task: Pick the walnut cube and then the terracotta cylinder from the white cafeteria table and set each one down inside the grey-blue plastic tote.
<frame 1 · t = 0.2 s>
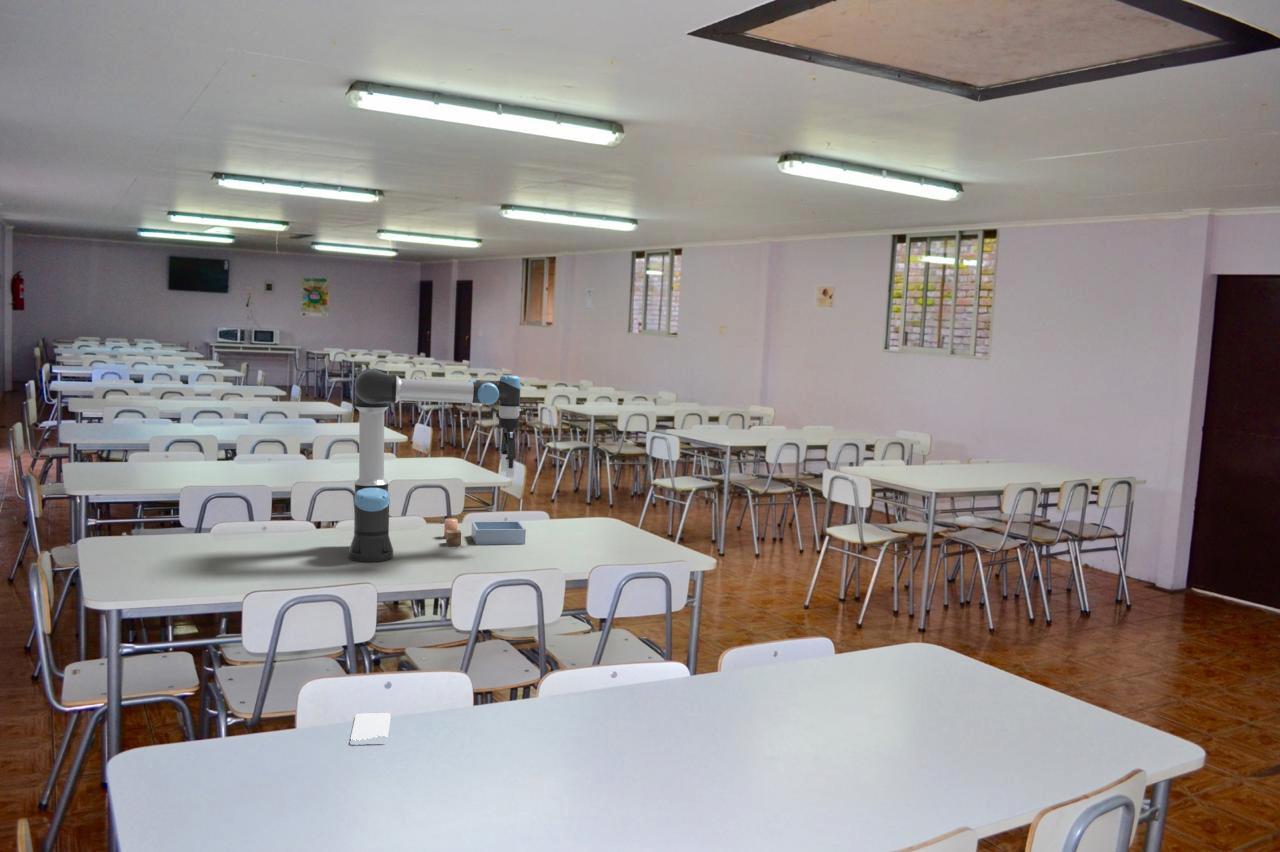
hand: (507, 474, 369), 27 cm above the table, fingers open, 13 cm apart
cube: (453, 544, 371), on the table
cylinder: (450, 537, 382), on the table
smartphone: (370, 732, 202), on the table
tote: (497, 539, 382), on the table
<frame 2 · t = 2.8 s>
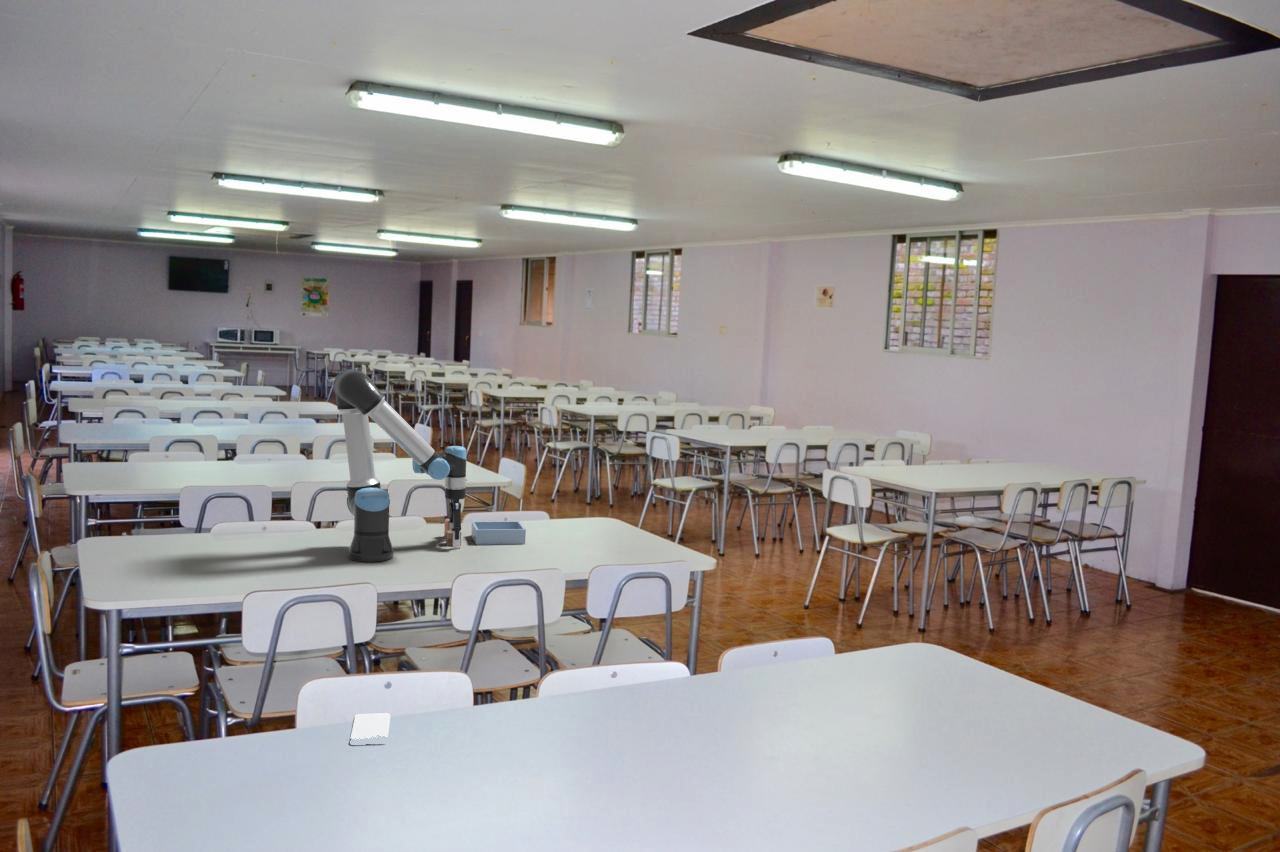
hand: (454, 543, 371), 0 cm above the table, fingers open, 13 cm apart
cylinder: (450, 537, 382), on the table, touching gripper
everything else where it was.
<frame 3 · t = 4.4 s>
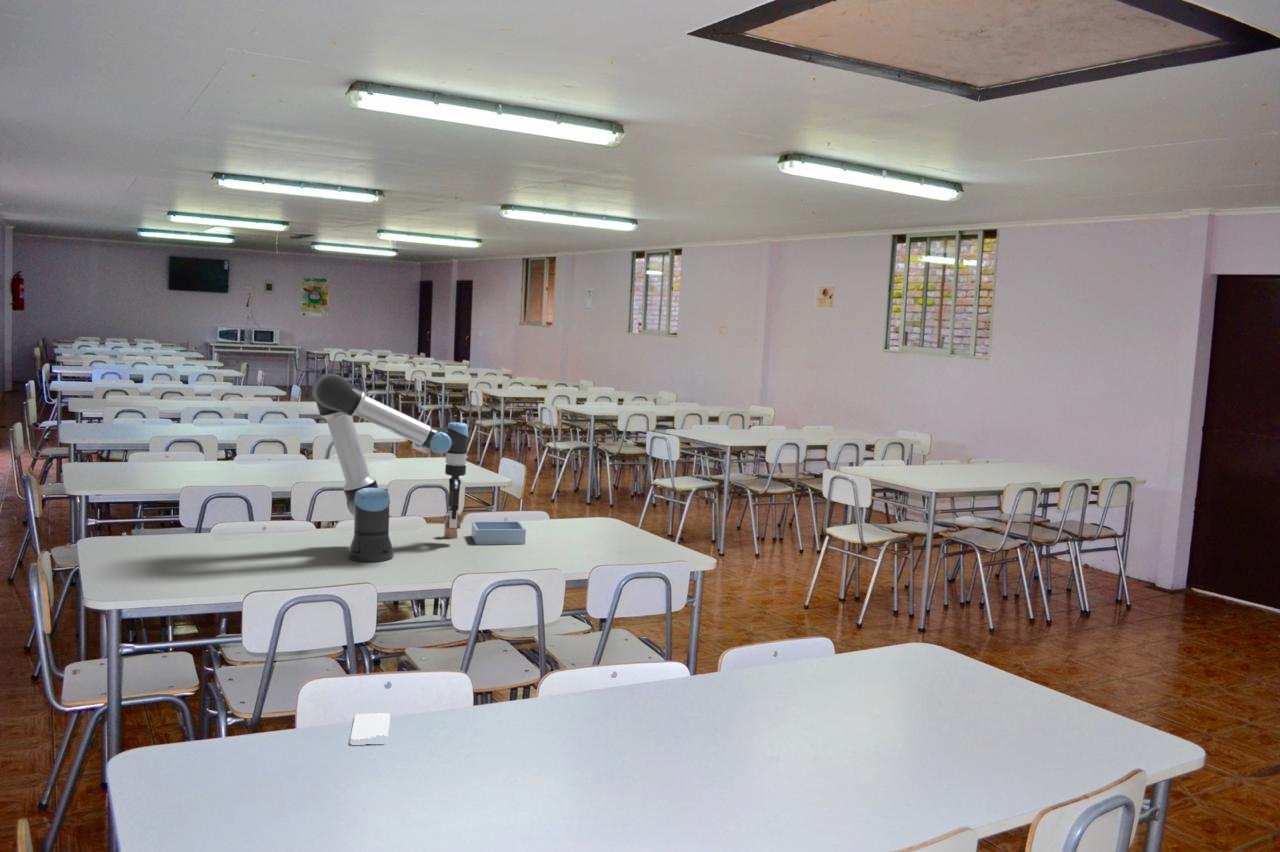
hand: (452, 525, 370), 7 cm above the table, fingers closed on cube, 5 cm apart
cube: (452, 527, 370), point 7 cm above the table, touching gripper
cylinder: (450, 537, 382), on the table
everything else where it was.
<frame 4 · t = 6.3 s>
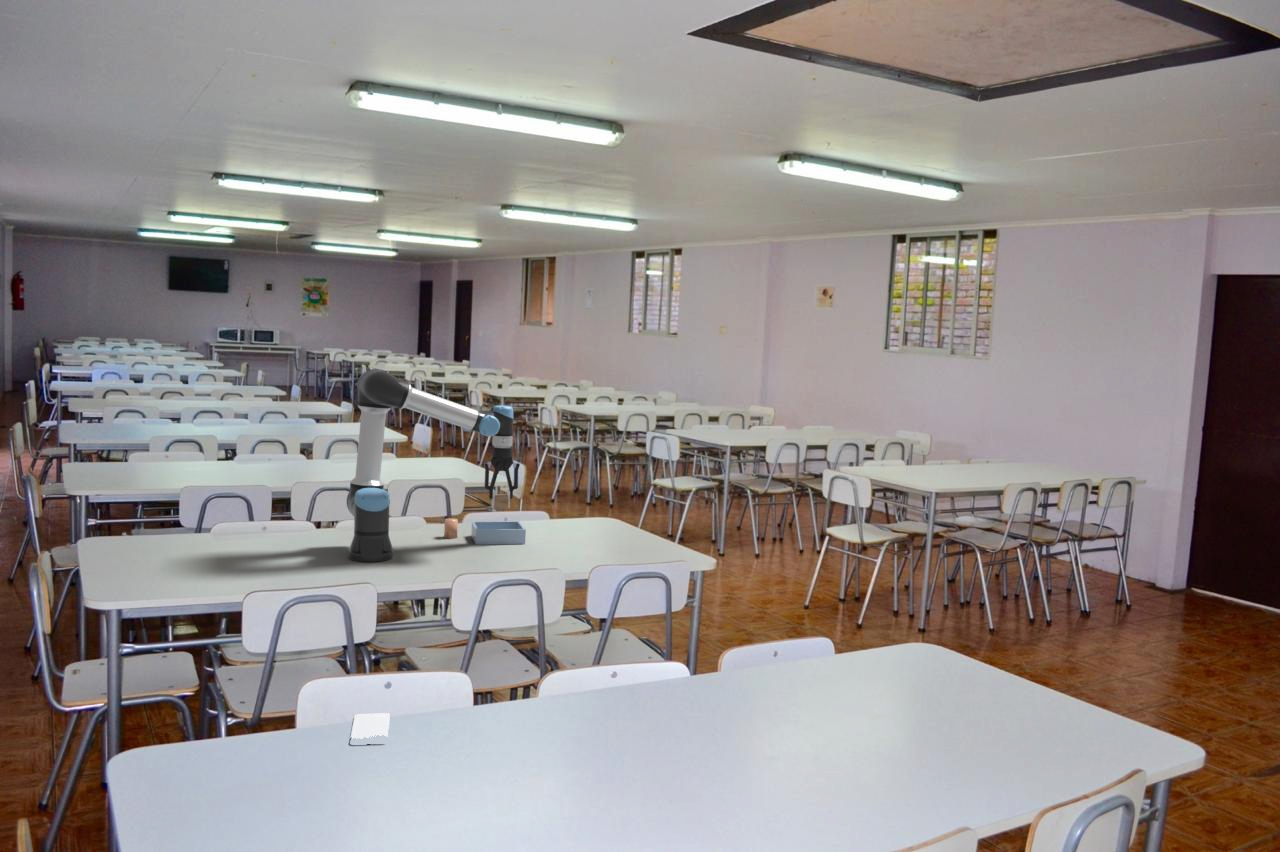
hand: (500, 507, 377), 13 cm above the table, fingers closed on cube, 5 cm apart
cube: (500, 508, 377), point 13 cm above the table, touching gripper
everything else where it was.
when the fingers open (2 cm above the table, at t = 8.5 s): cube stays where it is, resting on tote.
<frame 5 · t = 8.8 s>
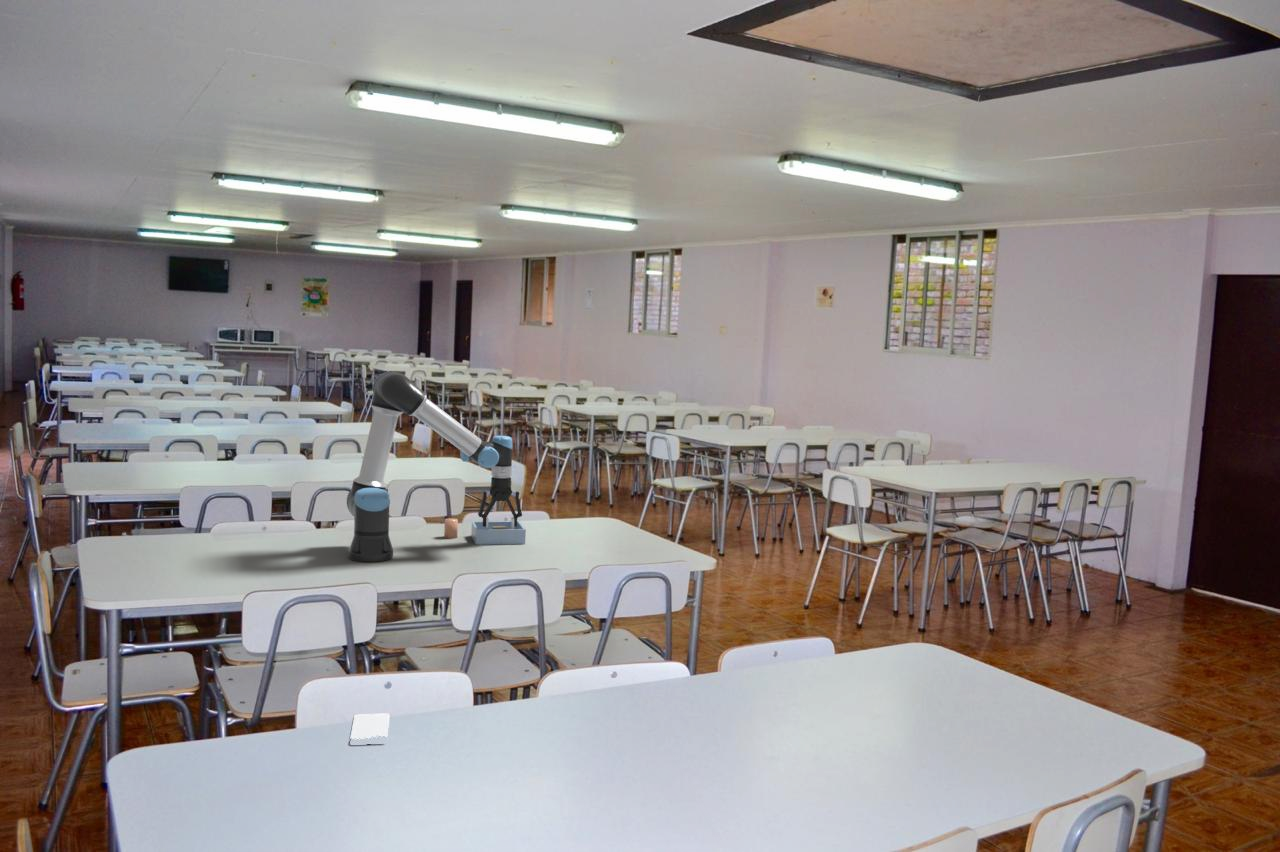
hand: (499, 534, 378), 3 cm above the table, fingers open, 9 cm apart
cube: (499, 540, 378), point 1 cm above the table, touching tote
everything else where it was.
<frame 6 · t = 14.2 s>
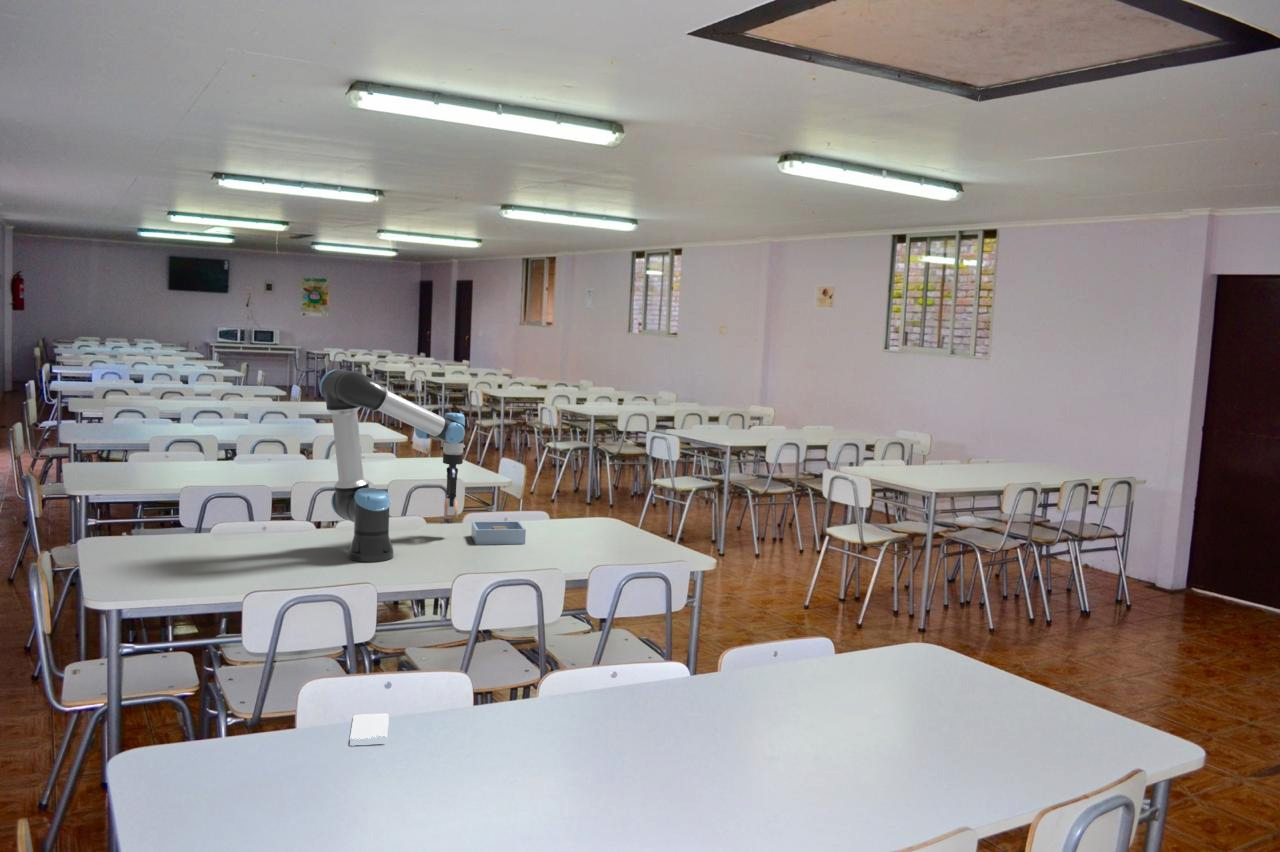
hand: (450, 513, 381), 9 cm above the table, fingers closed on cylinder, 5 cm apart
cylinder: (450, 517, 381), point 8 cm above the table, touching gripper
everything else where it was.
when the fingers open (2 cm above the table, at t = 18.2 s): cylinder stays where it is, resting on tote.
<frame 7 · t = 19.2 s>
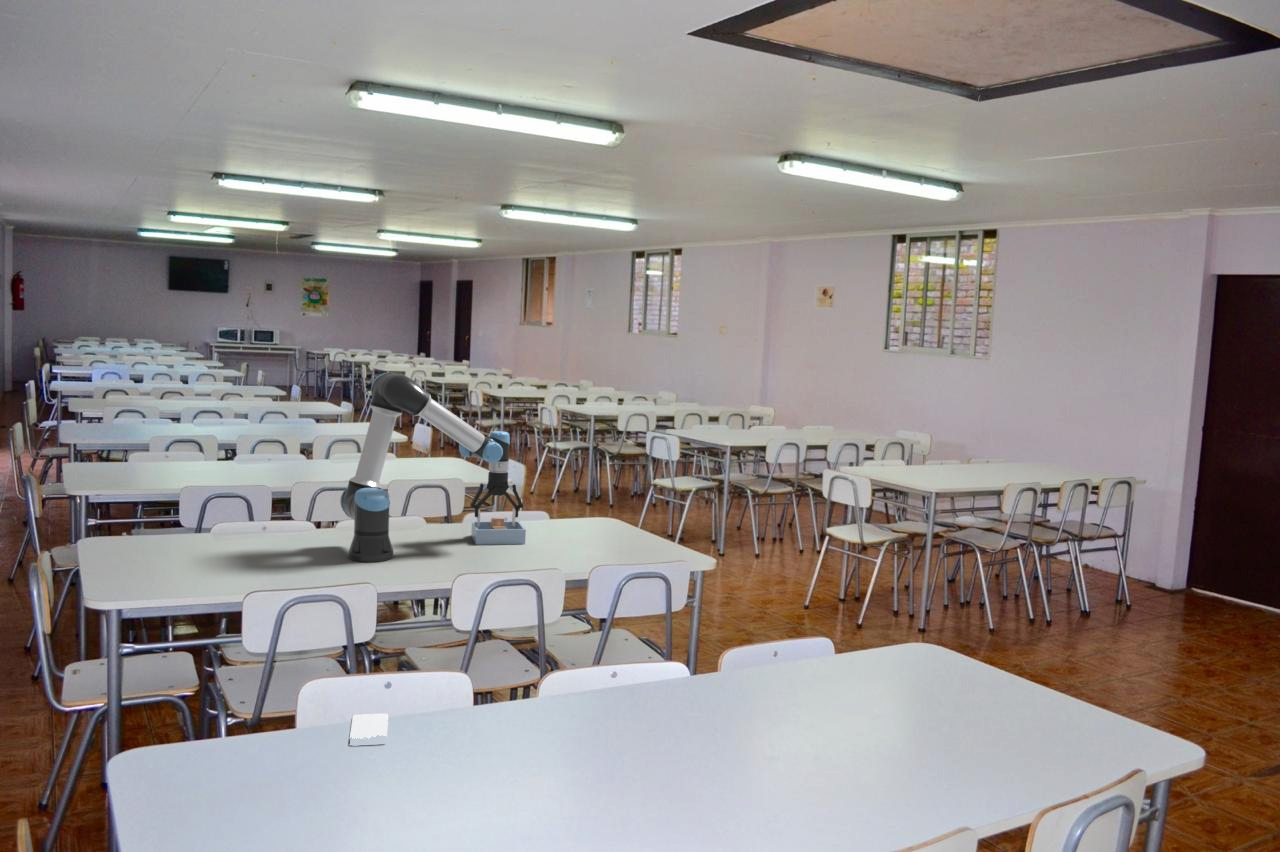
hand: (495, 525, 384), 5 cm above the table, fingers open, 13 cm apart
cylinder: (497, 536, 385), point 1 cm above the table, touching tote
everything else where it was.
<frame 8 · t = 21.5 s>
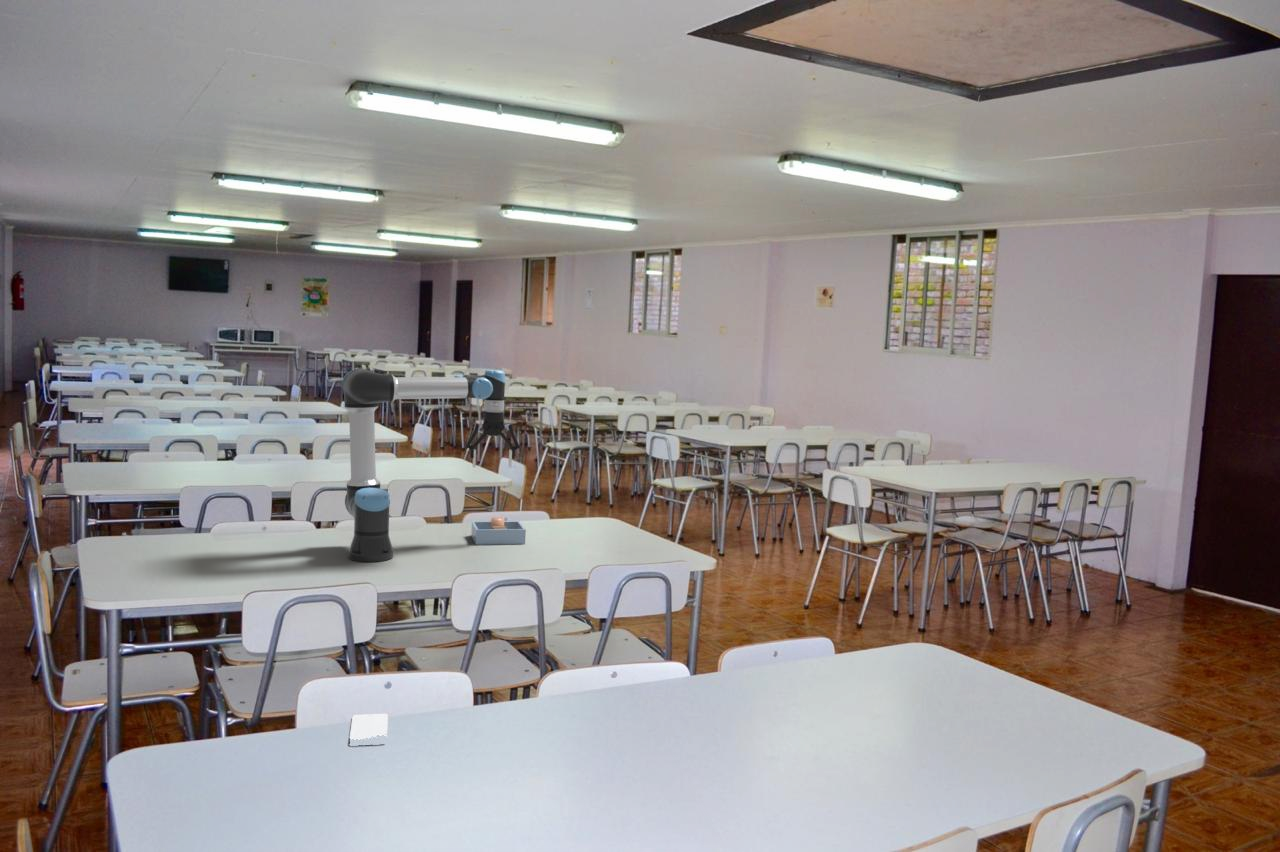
hand: (492, 467, 375), 29 cm above the table, fingers open, 13 cm apart
nothing on the table moved.
at the end: cube inside the target area on the tote (3.9 cm from its centre), point 0.6 cm above the tote's base; cylinder inside the target area on the tote (3.2 cm from its centre), point 0.6 cm above the tote's base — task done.
